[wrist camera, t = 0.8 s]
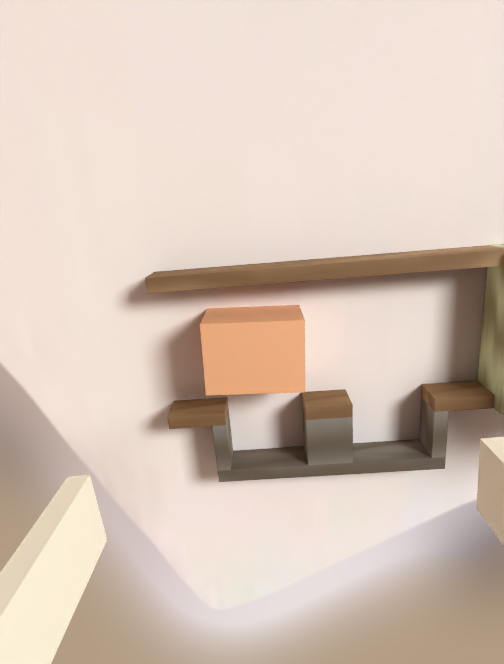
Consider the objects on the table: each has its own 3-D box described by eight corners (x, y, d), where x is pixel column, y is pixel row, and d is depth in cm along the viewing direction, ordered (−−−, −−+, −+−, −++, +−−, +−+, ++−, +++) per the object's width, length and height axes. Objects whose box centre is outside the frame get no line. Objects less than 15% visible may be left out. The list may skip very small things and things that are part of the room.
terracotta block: (207, 308, 36) (199, 324, 32) (298, 304, 36) (304, 320, 31) (212, 371, 38) (205, 395, 33) (299, 368, 38) (305, 392, 33)
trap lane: (154, 271, 35) (141, 280, 31) (504, 244, 34) (535, 249, 30) (184, 464, 41) (176, 491, 37) (483, 446, 40) (507, 472, 36)
